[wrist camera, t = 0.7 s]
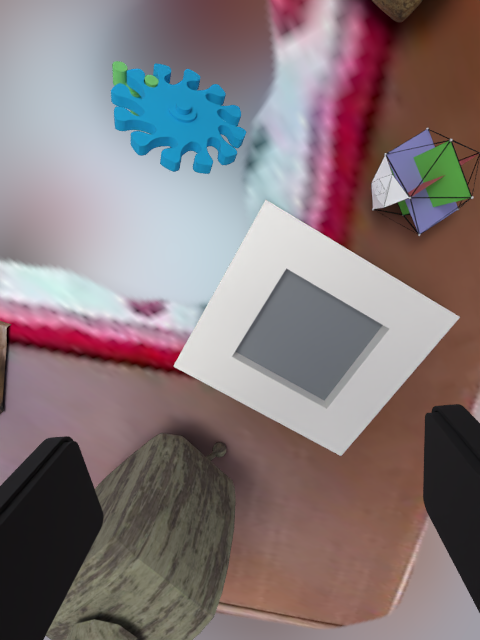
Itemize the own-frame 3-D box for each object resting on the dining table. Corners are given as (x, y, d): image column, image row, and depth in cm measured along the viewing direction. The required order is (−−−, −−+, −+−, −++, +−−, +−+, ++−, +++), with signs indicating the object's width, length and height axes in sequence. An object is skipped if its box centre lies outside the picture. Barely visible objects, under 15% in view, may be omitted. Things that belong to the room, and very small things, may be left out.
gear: (272, 121, 26) (192, 182, 22) (248, 176, 32) (180, 234, 27) (165, 31, 26) (63, 73, 22) (159, 101, 32) (75, 147, 27)
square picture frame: (265, 200, 30) (265, 199, 28) (445, 309, 32) (459, 317, 29) (179, 355, 36) (173, 366, 33) (336, 440, 37) (340, 456, 35)
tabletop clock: (161, 505, 43) (29, 874, 19) (107, 461, 41) (-110, 804, 17) (242, 445, 39) (203, 818, 15) (187, 393, 37) (45, 720, 13)
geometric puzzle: (470, 102, 25) (450, 117, 20) (499, 187, 26) (487, 221, 21) (378, 154, 30) (344, 177, 25) (407, 223, 32) (380, 257, 27)
